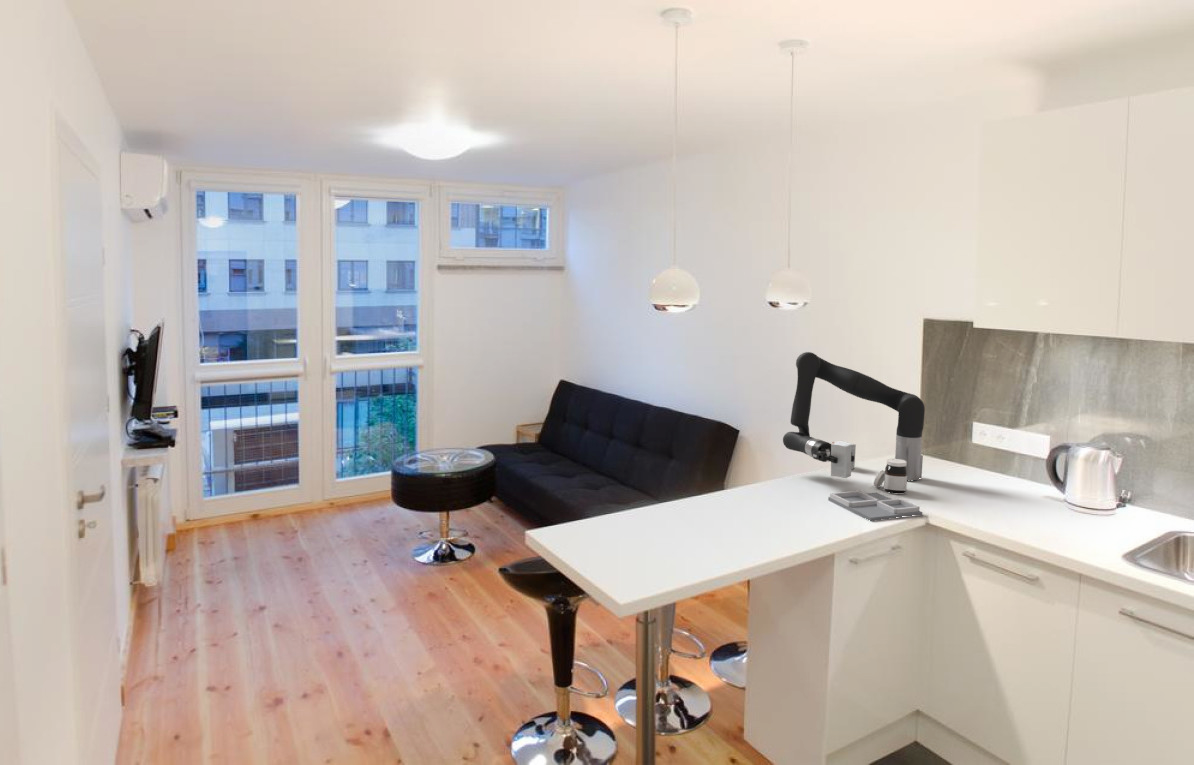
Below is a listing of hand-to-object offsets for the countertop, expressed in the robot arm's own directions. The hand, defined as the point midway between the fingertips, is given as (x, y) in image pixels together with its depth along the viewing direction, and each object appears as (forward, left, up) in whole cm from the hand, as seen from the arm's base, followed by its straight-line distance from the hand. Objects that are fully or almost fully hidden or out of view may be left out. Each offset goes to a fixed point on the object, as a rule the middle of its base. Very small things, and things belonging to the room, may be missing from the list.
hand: (845, 459), depth 266 cm
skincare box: (0, -2, -7) cm, 7 cm away
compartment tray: (-2, +15, -14) cm, 20 cm away
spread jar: (-21, -1, -14) cm, 25 cm away
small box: (-24, -35, -14) cm, 45 cm away
